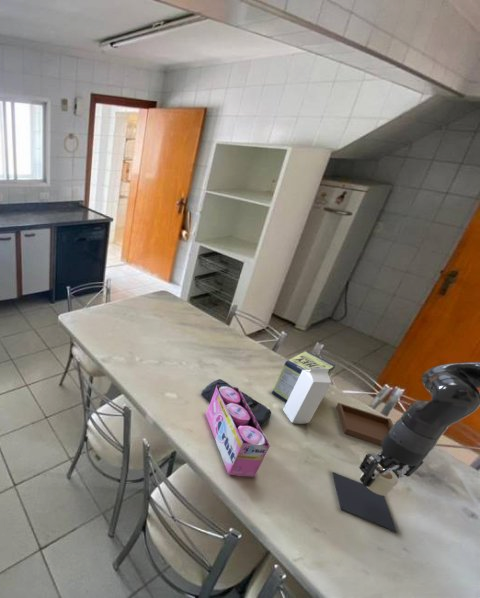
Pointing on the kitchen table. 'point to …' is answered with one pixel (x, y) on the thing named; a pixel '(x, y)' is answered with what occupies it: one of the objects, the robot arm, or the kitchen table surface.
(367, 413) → the tray
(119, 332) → the kitchen table surface
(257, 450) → the gum box
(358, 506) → the mat
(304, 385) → the milk
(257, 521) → the kitchen table surface
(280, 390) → the protein box
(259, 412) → the black pouch
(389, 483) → the masking tape
